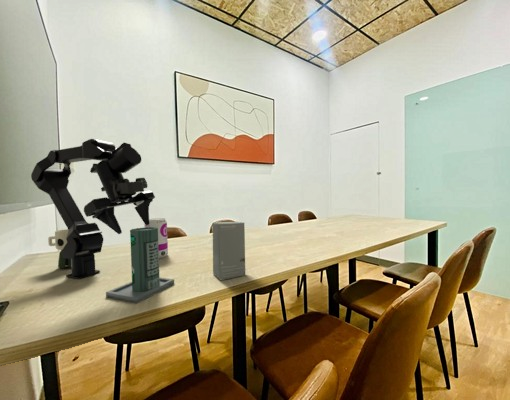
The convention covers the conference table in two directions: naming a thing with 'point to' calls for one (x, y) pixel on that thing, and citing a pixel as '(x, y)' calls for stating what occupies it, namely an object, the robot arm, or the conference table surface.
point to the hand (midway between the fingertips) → (135, 228)
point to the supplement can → (160, 234)
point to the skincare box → (228, 249)
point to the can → (144, 259)
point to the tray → (136, 297)
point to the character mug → (60, 246)
